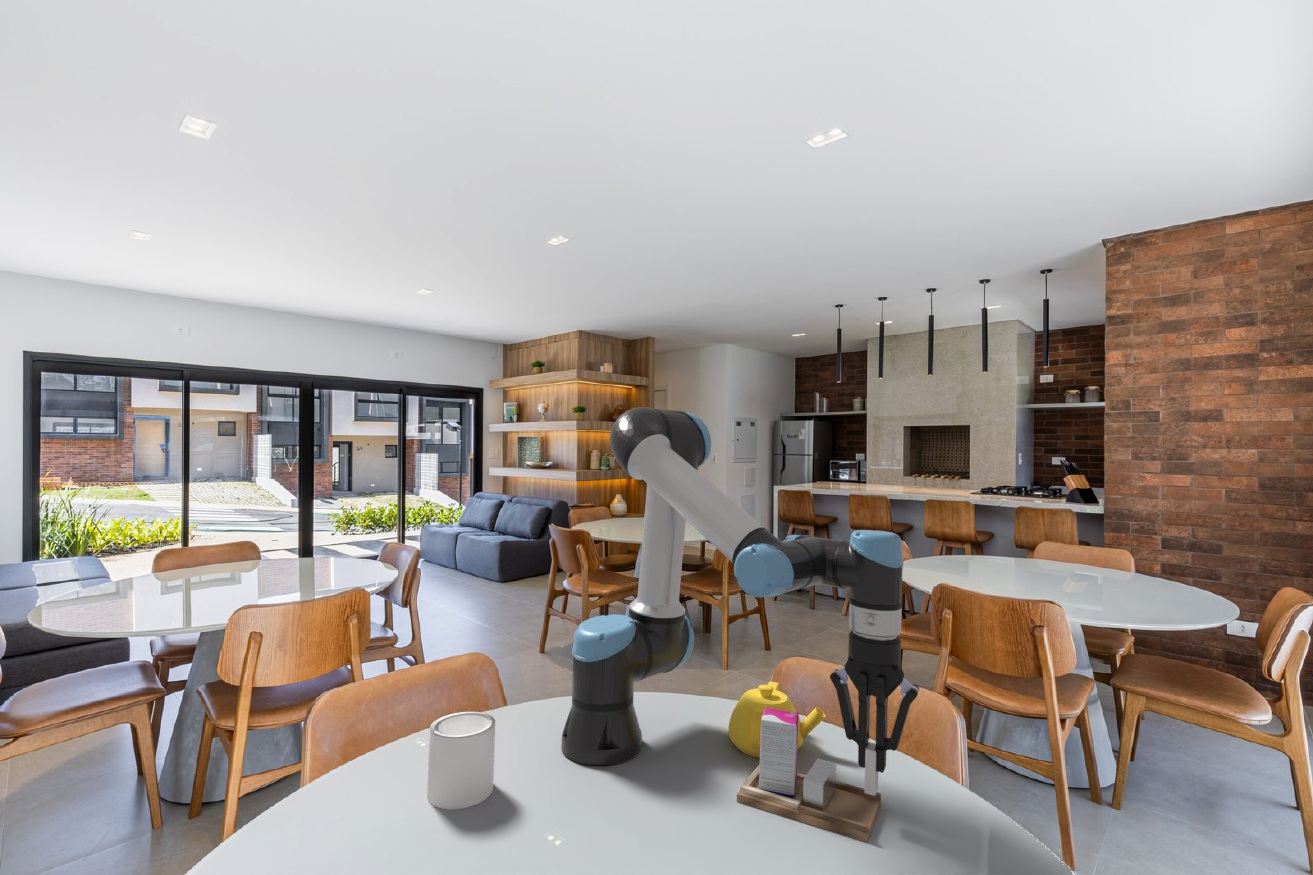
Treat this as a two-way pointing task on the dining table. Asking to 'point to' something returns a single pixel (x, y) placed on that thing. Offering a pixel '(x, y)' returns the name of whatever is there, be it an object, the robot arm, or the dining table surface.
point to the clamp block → (819, 784)
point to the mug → (461, 760)
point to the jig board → (842, 814)
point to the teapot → (751, 710)
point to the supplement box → (778, 752)
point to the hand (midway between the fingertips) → (871, 790)
